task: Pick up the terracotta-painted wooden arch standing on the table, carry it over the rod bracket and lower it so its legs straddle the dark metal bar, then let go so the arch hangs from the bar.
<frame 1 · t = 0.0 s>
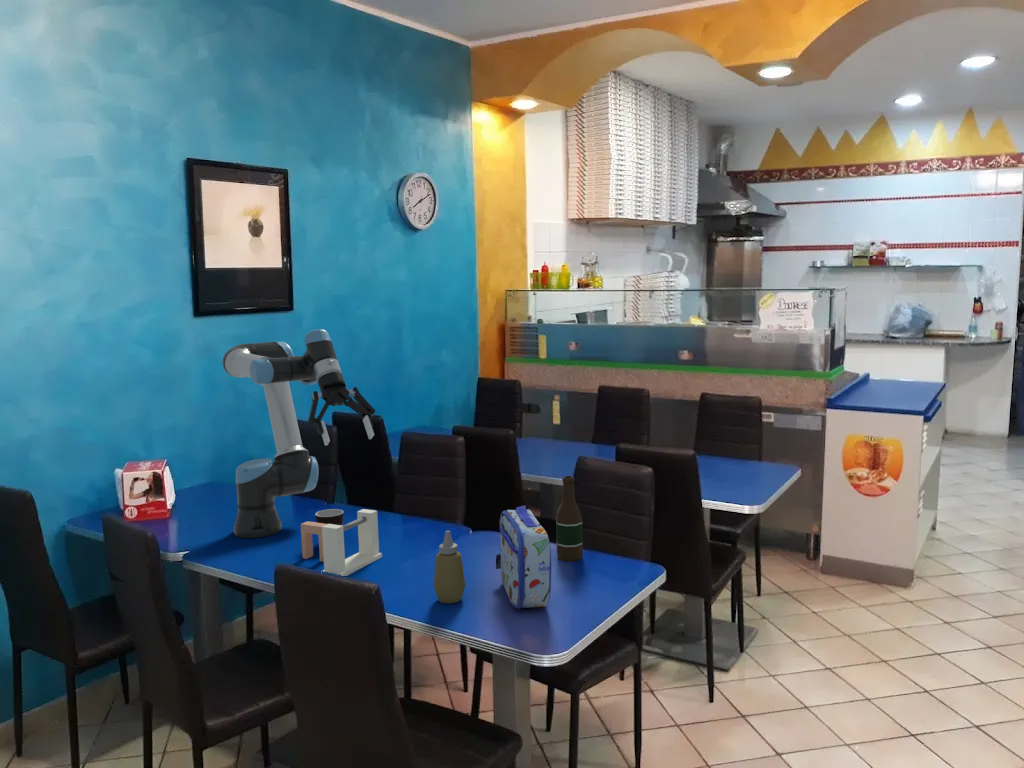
hand: (350, 440, 238), 36 cm above the table, tool tilted 35°, fingers open, 13 cm apart
lunch box: (523, 596, 213), on the table
coffee mug: (333, 543, 261), on the table
arch: (316, 558, 246), on the table
beer bottle: (569, 558, 241), on the table
squeeze bottle: (450, 600, 212), on the table
rod bracket: (352, 565, 239), on the table
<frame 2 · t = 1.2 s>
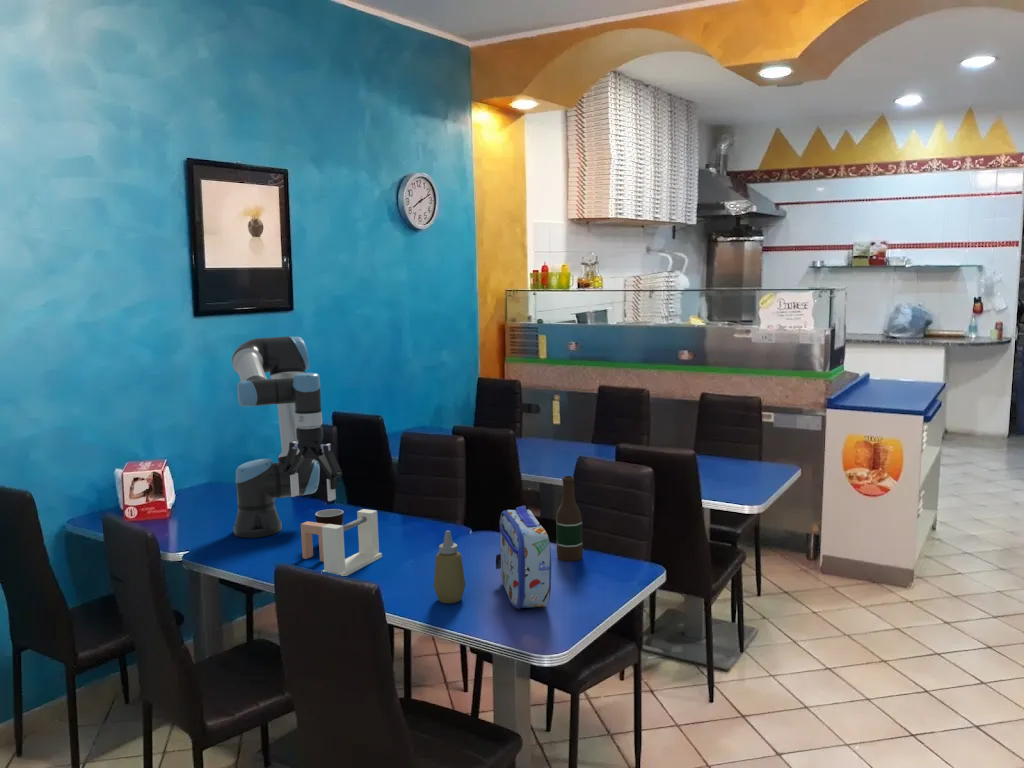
hand: (313, 498, 243), 18 cm above the table, tool pointing down, fingers open, 13 cm apart
nothing on the table moved.
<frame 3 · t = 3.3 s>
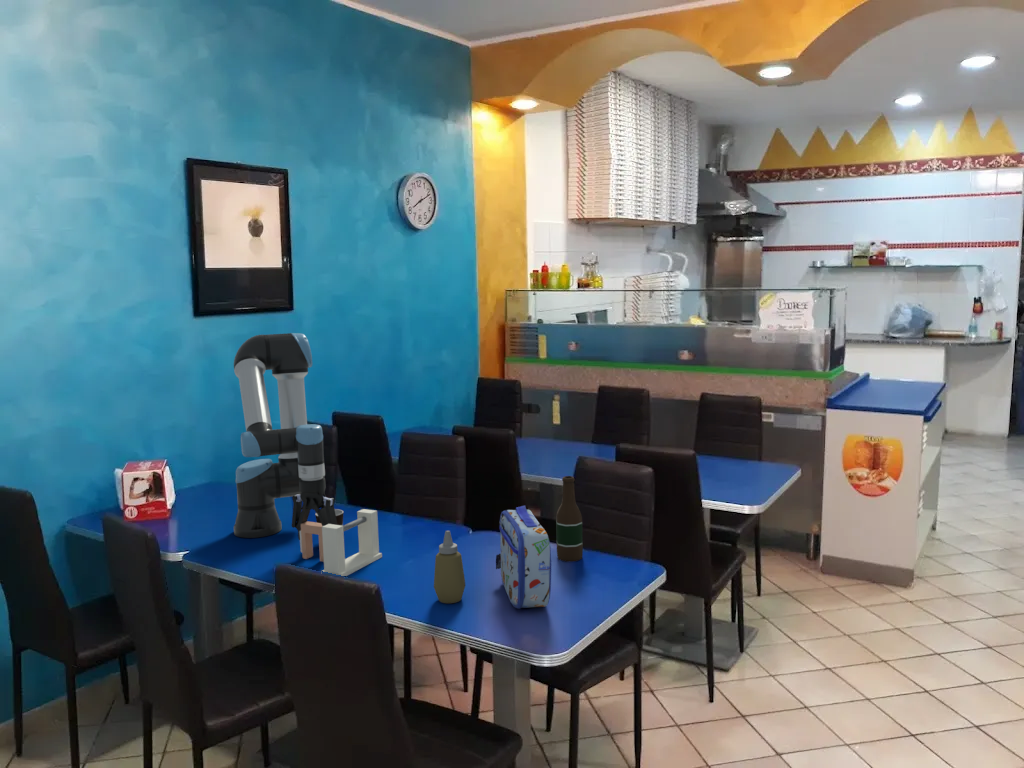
hand: (316, 552, 246), 2 cm above the table, tool pointing down, fingers closed on arch, 8 cm apart
arch: (316, 558, 246), on the table, touching gripper
everything else where it was.
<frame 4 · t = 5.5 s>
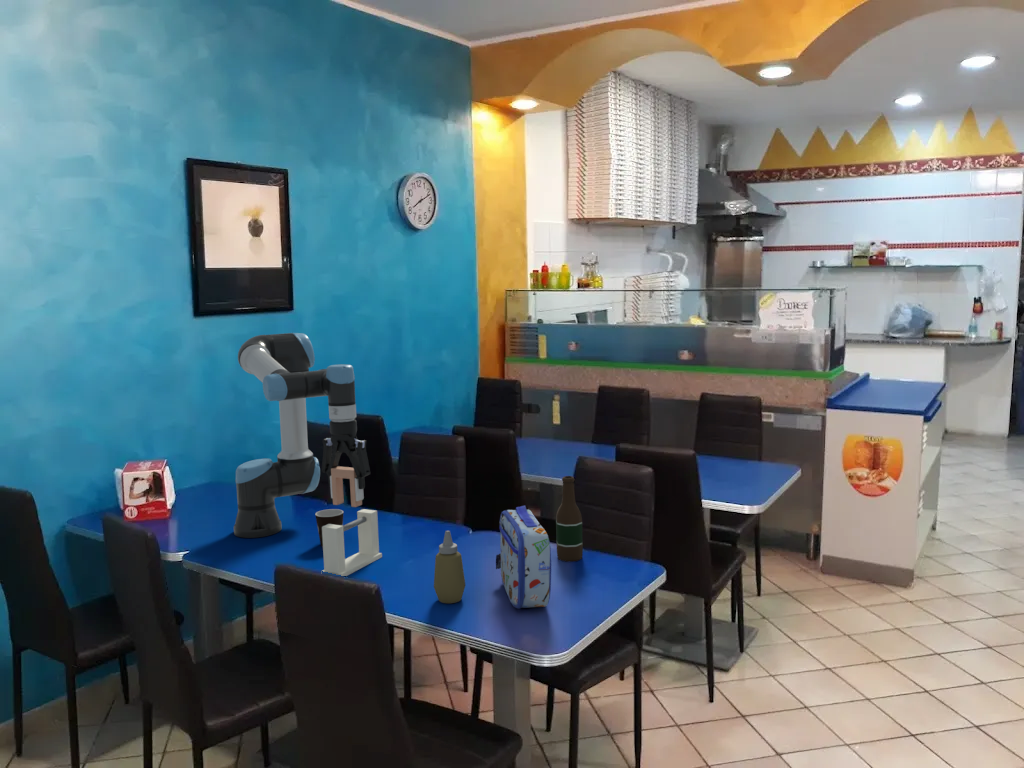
hand: (347, 498, 236), 20 cm above the table, tool pointing down, fingers closed on arch, 8 cm apart
arch: (347, 504, 236), point 18 cm above the table, touching gripper
everything else where it was.
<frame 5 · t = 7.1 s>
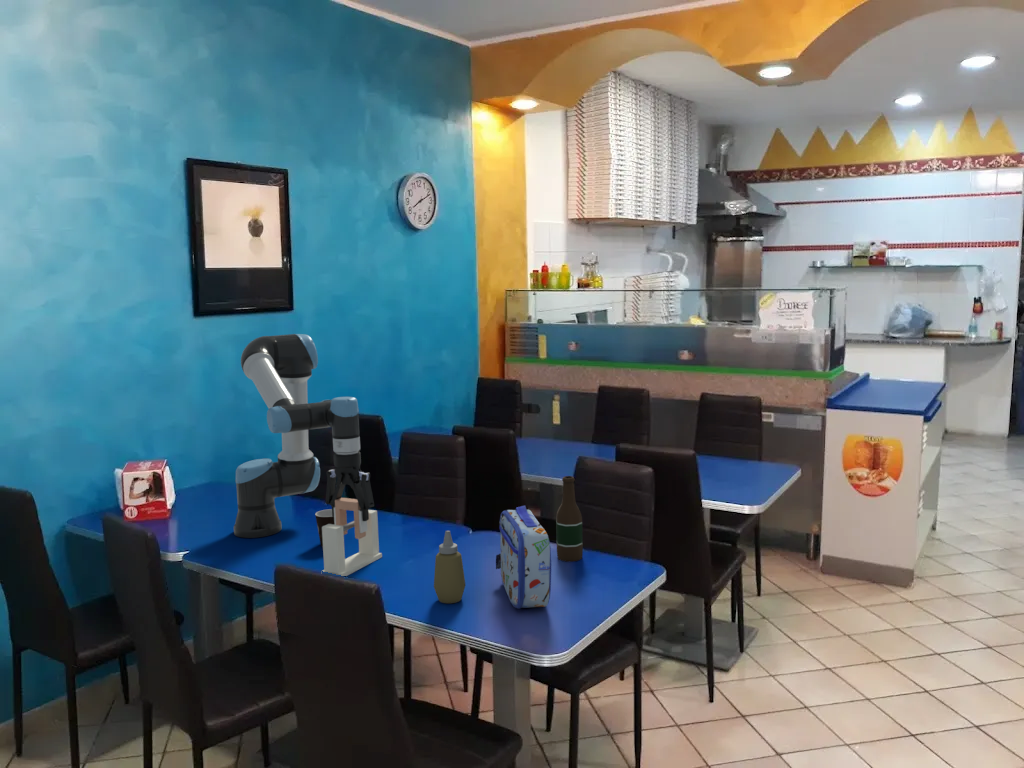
hand: (351, 529, 237), 11 cm above the table, tool pointing down, fingers closed on arch, 8 cm apart
arch: (351, 535, 237), point 9 cm above the table, touching gripper
everything else where it was.
when the fingers open (8 cm above the table, at t = 8.0 s): arch drops 2 cm, resting on rod bracket.
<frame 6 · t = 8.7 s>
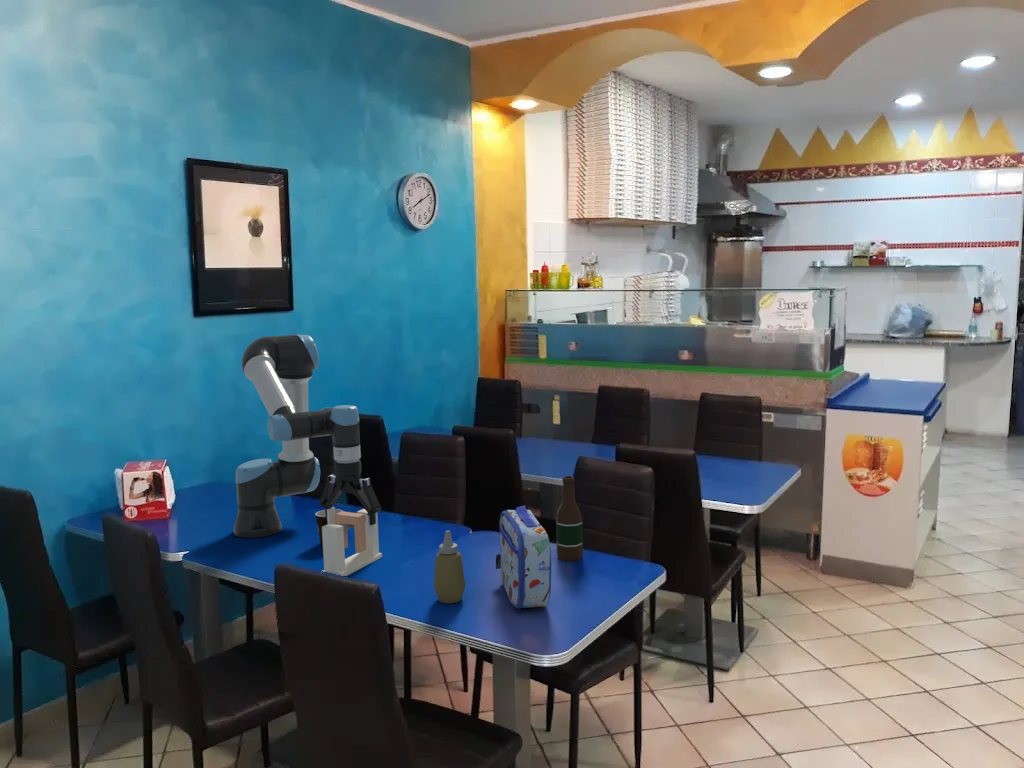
hand: (351, 533, 238), 10 cm above the table, tool pointing down, fingers open, 13 cm apart
arch: (351, 549, 238), point 5 cm above the table, touching rod bracket
everything else where it was.
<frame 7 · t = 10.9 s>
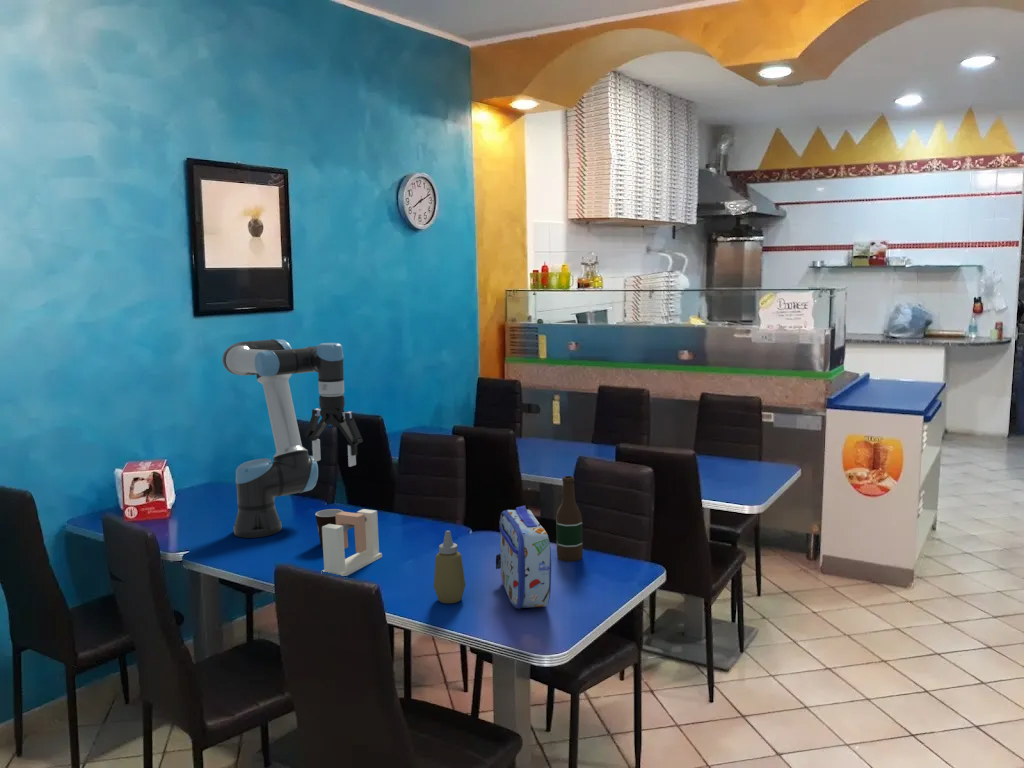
hand: (334, 463, 253), 26 cm above the table, tool pointing down, fingers open, 13 cm apart
nothing on the table moved.
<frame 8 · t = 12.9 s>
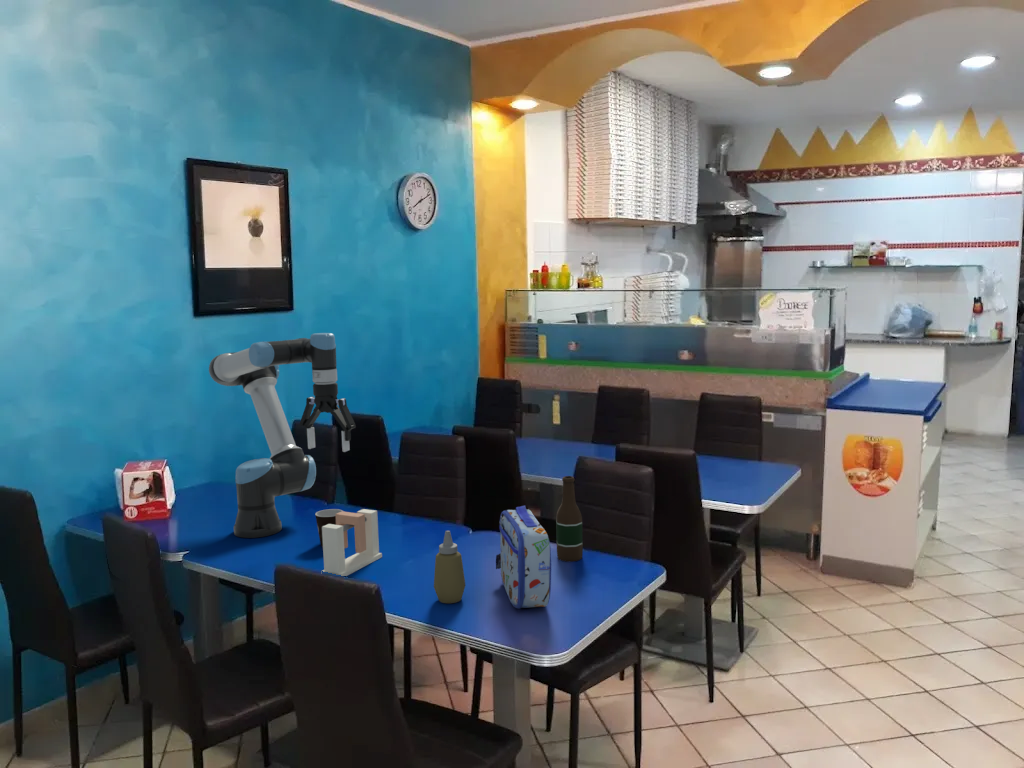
hand: (328, 449, 262), 29 cm above the table, tool pointing down, fingers open, 13 cm apart
nothing on the table moved.
at the end: arch inside the target area on the rod bracket (0.1 cm from its centre), point 4.8 cm above the rod bracket's base; arch touching rod bracket; the gripper is holding nothing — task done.
